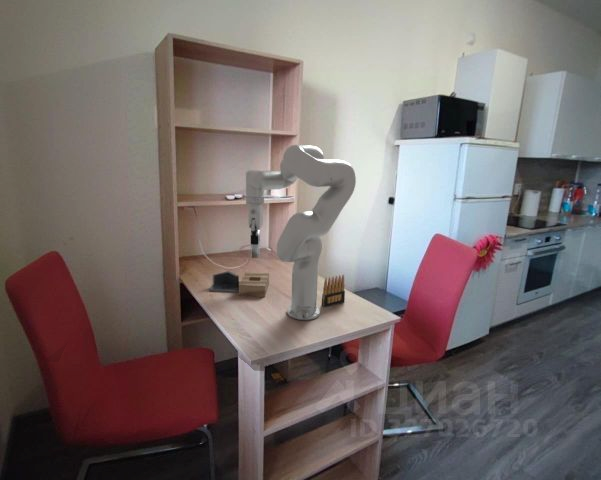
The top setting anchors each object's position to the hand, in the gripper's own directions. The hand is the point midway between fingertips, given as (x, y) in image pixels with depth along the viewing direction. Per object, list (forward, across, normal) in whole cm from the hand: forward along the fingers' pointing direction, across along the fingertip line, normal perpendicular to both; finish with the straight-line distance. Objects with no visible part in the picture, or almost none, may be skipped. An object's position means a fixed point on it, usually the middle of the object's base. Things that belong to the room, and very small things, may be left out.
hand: (255, 242), depth 152 cm
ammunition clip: (+22, -12, -34) cm, 42 cm away
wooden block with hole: (+21, 0, 0) cm, 21 cm away
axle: (+6, 0, 0) cm, 6 cm away
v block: (+21, +2, +13) cm, 25 cm away
